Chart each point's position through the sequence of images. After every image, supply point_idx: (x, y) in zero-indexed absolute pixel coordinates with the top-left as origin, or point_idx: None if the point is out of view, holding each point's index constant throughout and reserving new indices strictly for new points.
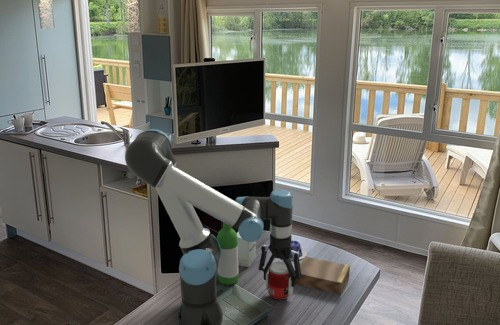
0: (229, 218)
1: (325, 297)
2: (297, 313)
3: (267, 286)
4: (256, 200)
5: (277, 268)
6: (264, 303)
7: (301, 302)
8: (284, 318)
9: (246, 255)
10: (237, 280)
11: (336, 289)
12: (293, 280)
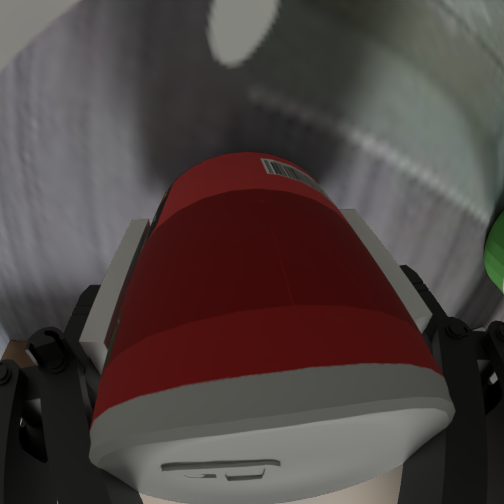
0: None
1: (30, 310)
2: (45, 107)
3: (351, 225)
4: None
5: (311, 456)
6: (311, 94)
7: (81, 224)
8: (97, 8)
9: None
10: (487, 245)
11: (15, 358)
12: (71, 344)
